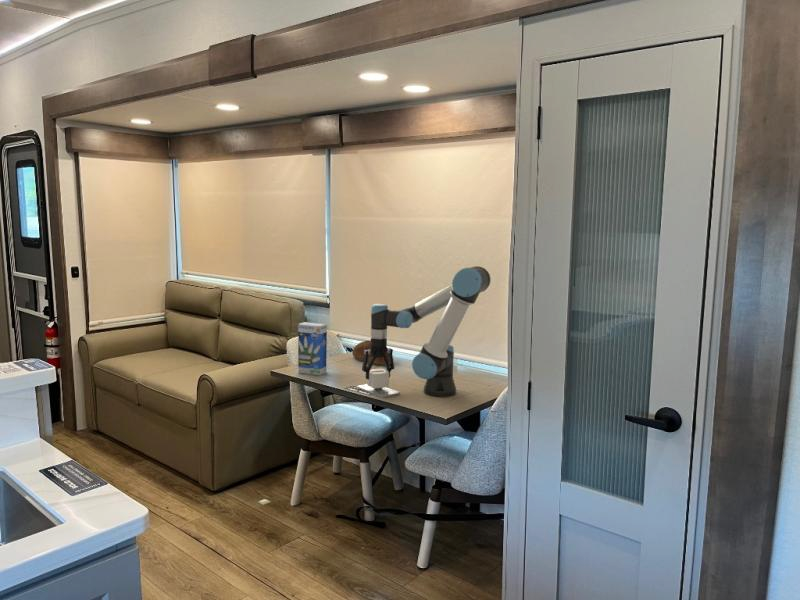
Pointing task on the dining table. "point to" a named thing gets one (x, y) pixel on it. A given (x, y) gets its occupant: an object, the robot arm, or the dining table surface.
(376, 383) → the white cardboard box
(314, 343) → the string lights box
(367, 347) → the bread
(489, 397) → the dining table surface
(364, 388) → the duct stub
